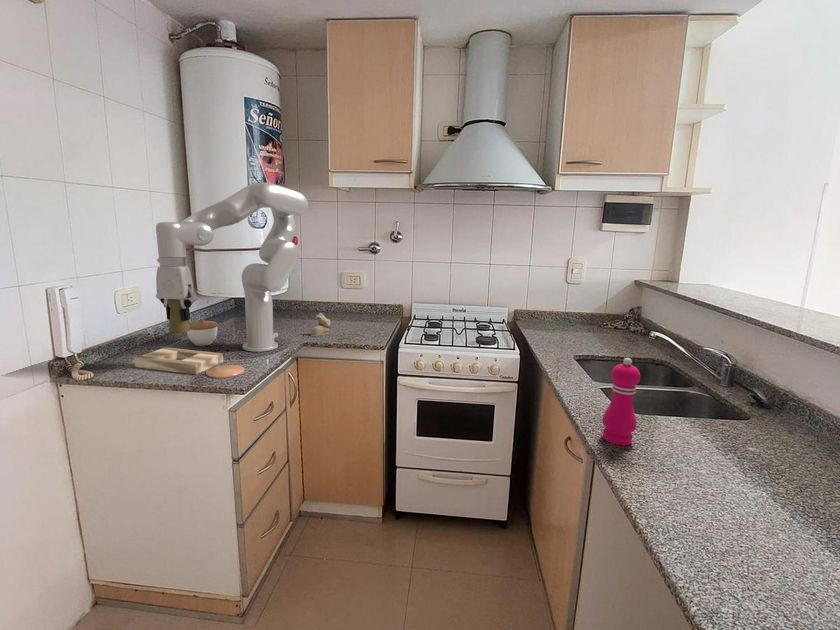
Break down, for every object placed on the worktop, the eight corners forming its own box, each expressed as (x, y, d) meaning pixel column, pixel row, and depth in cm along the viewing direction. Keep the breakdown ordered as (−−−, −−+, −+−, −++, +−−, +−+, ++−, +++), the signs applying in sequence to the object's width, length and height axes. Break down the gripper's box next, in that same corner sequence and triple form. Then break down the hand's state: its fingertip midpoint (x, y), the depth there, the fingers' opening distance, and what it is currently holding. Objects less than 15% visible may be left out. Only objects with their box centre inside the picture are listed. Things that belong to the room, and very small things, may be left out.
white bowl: (223, 340, 172) (222, 317, 171) (210, 347, 162) (208, 323, 160) (196, 339, 173) (195, 316, 171) (181, 346, 162) (179, 321, 160)
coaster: (221, 365, 143) (221, 363, 143) (251, 368, 141) (251, 366, 141) (198, 375, 133) (198, 374, 133) (230, 379, 131) (230, 377, 131)
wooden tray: (166, 355, 151) (165, 347, 150) (223, 362, 146) (222, 353, 146) (134, 367, 138) (134, 358, 138) (196, 374, 134) (195, 365, 133)
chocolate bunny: (327, 337, 183) (327, 314, 182) (309, 336, 184) (309, 313, 182) (331, 334, 189) (331, 311, 187) (313, 333, 189) (313, 310, 187)
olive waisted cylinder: (166, 333, 137) (163, 299, 135) (171, 329, 143) (168, 295, 140) (187, 332, 138) (184, 298, 136) (192, 328, 144) (189, 295, 142)
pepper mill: (593, 433, 105) (604, 353, 101) (619, 431, 107) (630, 352, 103) (613, 448, 98) (625, 363, 94) (640, 445, 100) (653, 362, 96)
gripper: (140, 262, 134) (146, 320, 138) (188, 265, 131) (193, 324, 135) (159, 260, 141) (164, 315, 145) (205, 262, 138) (209, 319, 142)
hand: (178, 319), depth 140 cm, fingers closed on olive waisted cylinder, 4 cm apart
